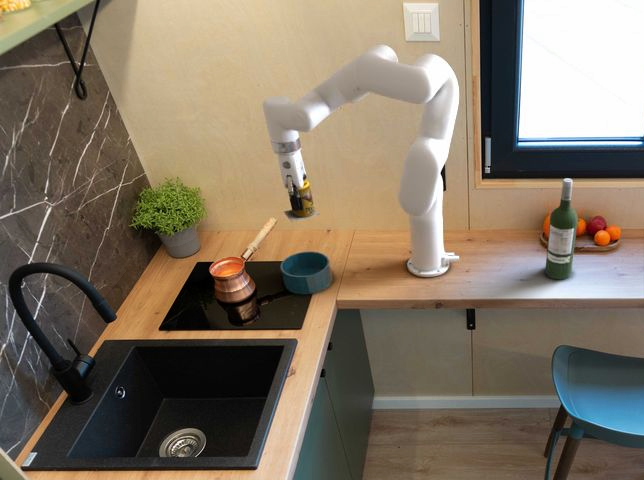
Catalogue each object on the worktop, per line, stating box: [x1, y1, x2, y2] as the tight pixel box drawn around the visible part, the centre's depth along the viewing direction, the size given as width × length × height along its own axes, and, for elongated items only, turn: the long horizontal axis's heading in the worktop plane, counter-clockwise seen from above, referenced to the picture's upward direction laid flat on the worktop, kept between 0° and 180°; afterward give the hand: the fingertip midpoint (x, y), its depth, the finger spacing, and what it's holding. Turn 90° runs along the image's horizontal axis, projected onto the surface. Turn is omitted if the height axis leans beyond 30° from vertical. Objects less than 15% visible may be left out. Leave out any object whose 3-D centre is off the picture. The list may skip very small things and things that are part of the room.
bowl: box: [280, 250, 333, 295], centre depth 172 cm, size 13×13×6 cm
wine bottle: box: [544, 177, 579, 280], centre depth 172 cm, size 8×8×30 cm
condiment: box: [283, 173, 320, 223], centre depth 173 cm, size 7×8×12 cm
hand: (299, 203), depth 175 cm, fingers closed on condiment, 6 cm apart
